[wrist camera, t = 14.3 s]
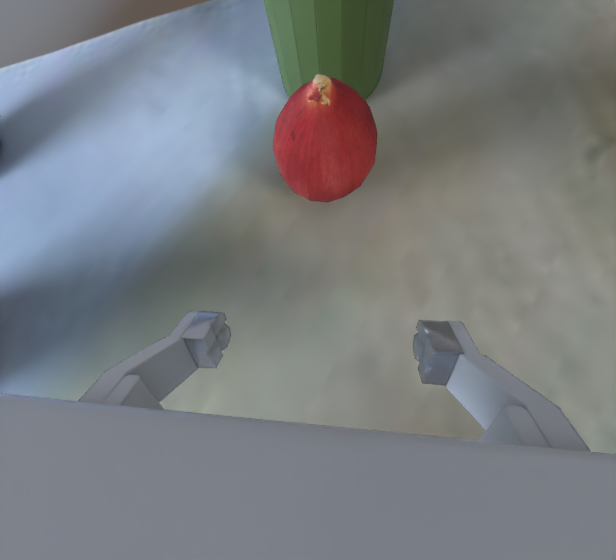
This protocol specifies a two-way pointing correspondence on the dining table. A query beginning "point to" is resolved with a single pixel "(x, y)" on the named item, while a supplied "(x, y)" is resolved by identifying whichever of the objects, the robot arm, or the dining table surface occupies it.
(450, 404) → the dining table surface
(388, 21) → the green cylindrical vase
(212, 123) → the dining table surface
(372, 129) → the onion
